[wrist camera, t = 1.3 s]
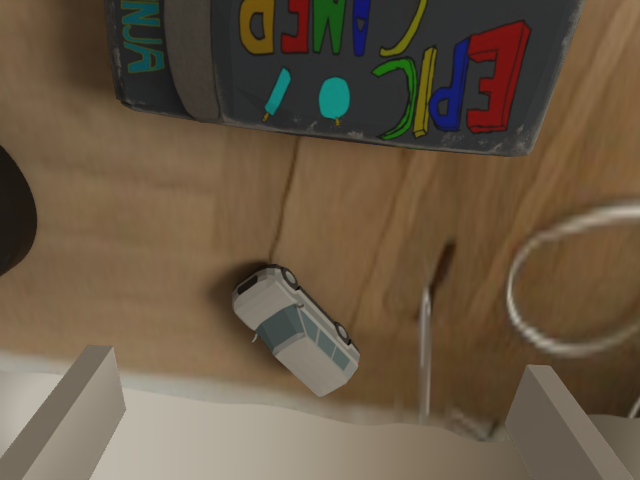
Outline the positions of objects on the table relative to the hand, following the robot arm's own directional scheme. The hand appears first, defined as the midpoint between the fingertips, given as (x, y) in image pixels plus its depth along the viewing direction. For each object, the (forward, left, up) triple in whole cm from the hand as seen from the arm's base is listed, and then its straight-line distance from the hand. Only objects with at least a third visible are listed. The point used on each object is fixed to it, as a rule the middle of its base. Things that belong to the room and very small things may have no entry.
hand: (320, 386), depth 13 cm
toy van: (0, +10, -21) cm, 23 cm away
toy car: (-1, -13, -21) cm, 24 cm away
